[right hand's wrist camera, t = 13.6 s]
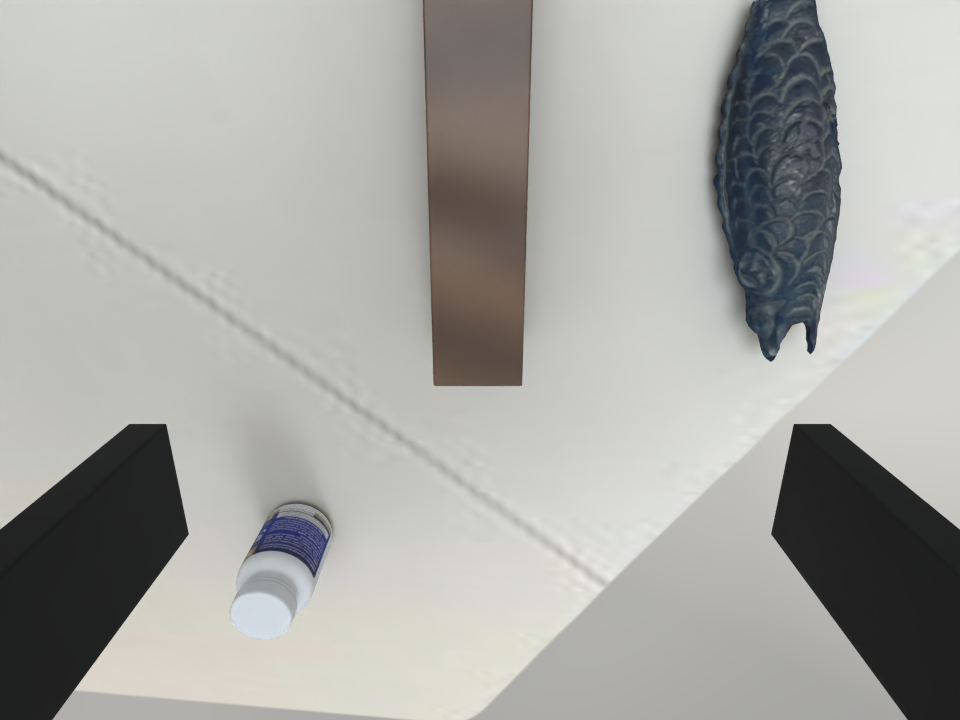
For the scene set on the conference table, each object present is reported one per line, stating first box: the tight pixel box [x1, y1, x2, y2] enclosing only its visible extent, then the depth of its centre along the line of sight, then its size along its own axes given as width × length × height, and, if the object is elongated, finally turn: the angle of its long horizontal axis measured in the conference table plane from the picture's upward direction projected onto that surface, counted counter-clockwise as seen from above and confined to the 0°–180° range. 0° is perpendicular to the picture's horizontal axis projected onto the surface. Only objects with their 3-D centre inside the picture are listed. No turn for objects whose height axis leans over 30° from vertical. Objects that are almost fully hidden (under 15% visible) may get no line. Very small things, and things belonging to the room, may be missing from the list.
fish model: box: [714, 0, 842, 362], centre depth 35 cm, size 7×21×5 cm, turn 8°
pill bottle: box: [230, 504, 333, 640], centre depth 42 cm, size 5×5×9 cm
